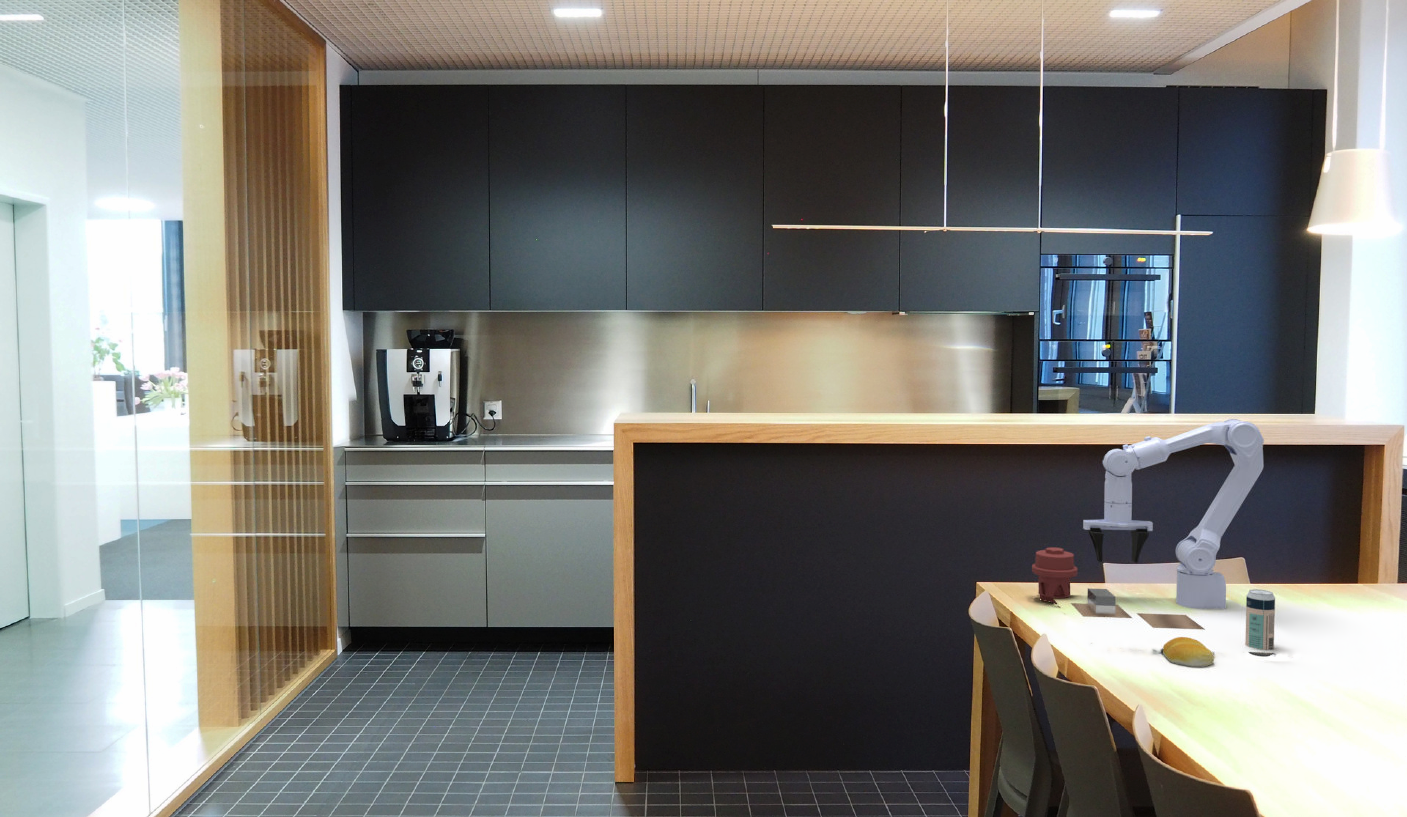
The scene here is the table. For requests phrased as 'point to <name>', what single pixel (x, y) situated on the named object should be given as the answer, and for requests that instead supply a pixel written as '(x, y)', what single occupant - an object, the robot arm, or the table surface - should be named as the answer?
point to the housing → (1101, 601)
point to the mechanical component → (1054, 573)
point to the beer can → (1260, 621)
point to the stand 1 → (1087, 612)
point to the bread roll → (1188, 652)
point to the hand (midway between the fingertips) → (1117, 561)
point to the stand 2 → (1170, 621)
